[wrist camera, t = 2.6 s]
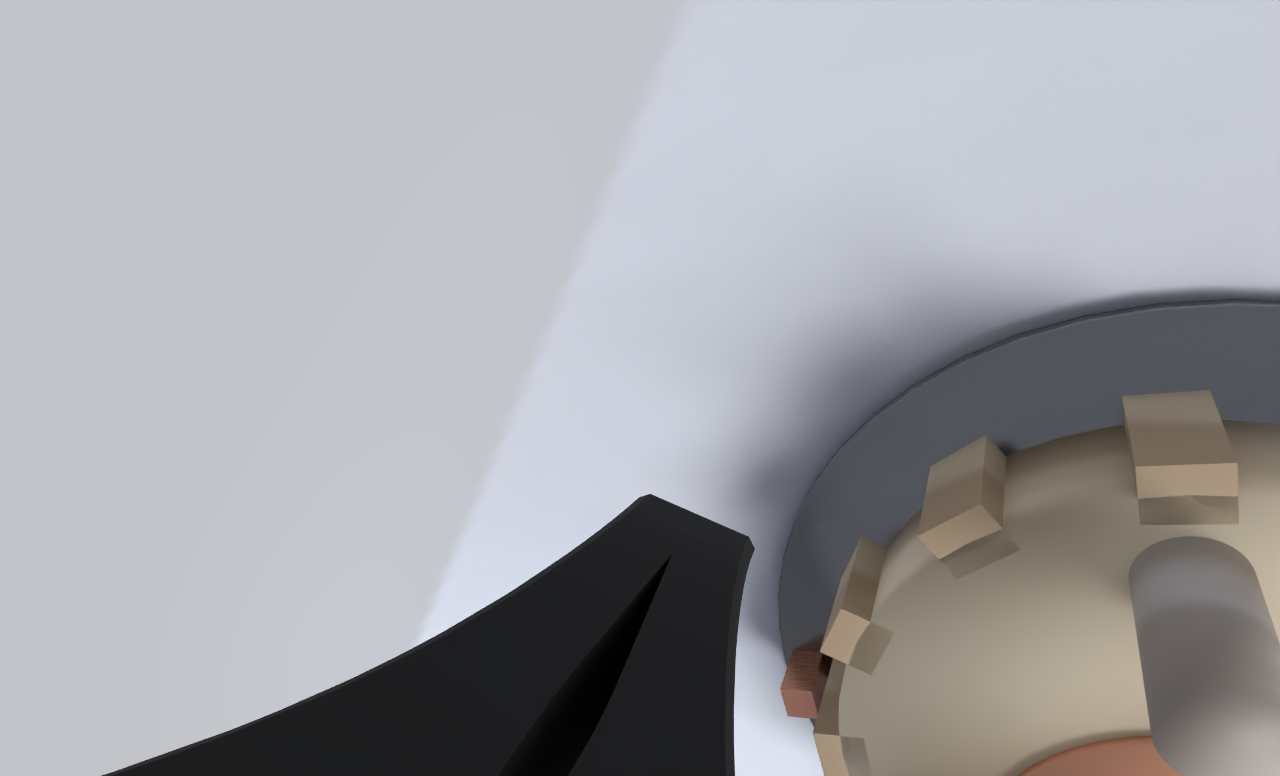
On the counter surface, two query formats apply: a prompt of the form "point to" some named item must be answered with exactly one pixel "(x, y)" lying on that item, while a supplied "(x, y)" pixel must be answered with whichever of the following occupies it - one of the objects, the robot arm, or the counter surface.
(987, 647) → the sprocket
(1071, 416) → the base plate
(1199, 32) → the counter surface
